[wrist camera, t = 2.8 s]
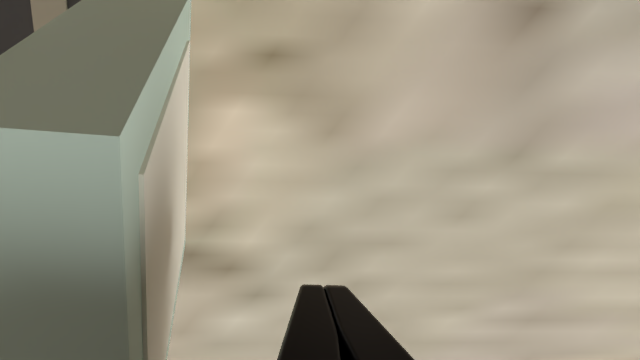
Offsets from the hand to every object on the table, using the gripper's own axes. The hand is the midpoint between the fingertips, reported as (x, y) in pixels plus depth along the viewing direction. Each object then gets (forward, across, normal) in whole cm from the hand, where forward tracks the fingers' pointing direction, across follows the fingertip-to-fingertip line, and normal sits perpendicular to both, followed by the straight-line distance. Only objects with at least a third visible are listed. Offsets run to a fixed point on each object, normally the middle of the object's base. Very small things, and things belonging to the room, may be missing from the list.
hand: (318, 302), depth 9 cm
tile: (+7, +4, 0) cm, 8 cm away
